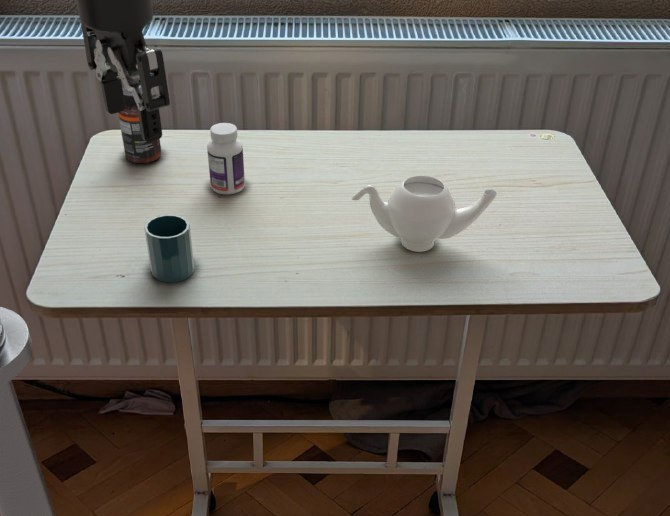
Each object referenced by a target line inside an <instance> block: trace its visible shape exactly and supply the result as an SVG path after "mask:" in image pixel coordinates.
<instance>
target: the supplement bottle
mask: <svg viewBox="0 0 670 516" xmlns="http://www.w3.org/2000/svg"><path fill="white" fill-rule="evenodd" d="M122 88H123V95H124V101H125V110H124V111H121V112H118V113H117V115H118V121H119V126H120V127H119V128H120V132H121V138H122V145H123V149H124V155H125V157H126V159H127V160H128V161H129V162H132V163H134V164H149V163H152V162H154V161H157V160H158V159H159V158H160V157H161V155H162V145H161V138H160V139H158V140H154V141H151V142H146V141H145V140H143V139H142V135H141V129H140V122H139V116H138V106H137V104H136V102H135V99H134V97H133V95H132V93H131V92H130V91H128V90H126V89H125V87H122ZM139 90H140V92H141V94H142V89H141V88H139ZM142 97H143V94H142Z"/></svg>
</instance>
